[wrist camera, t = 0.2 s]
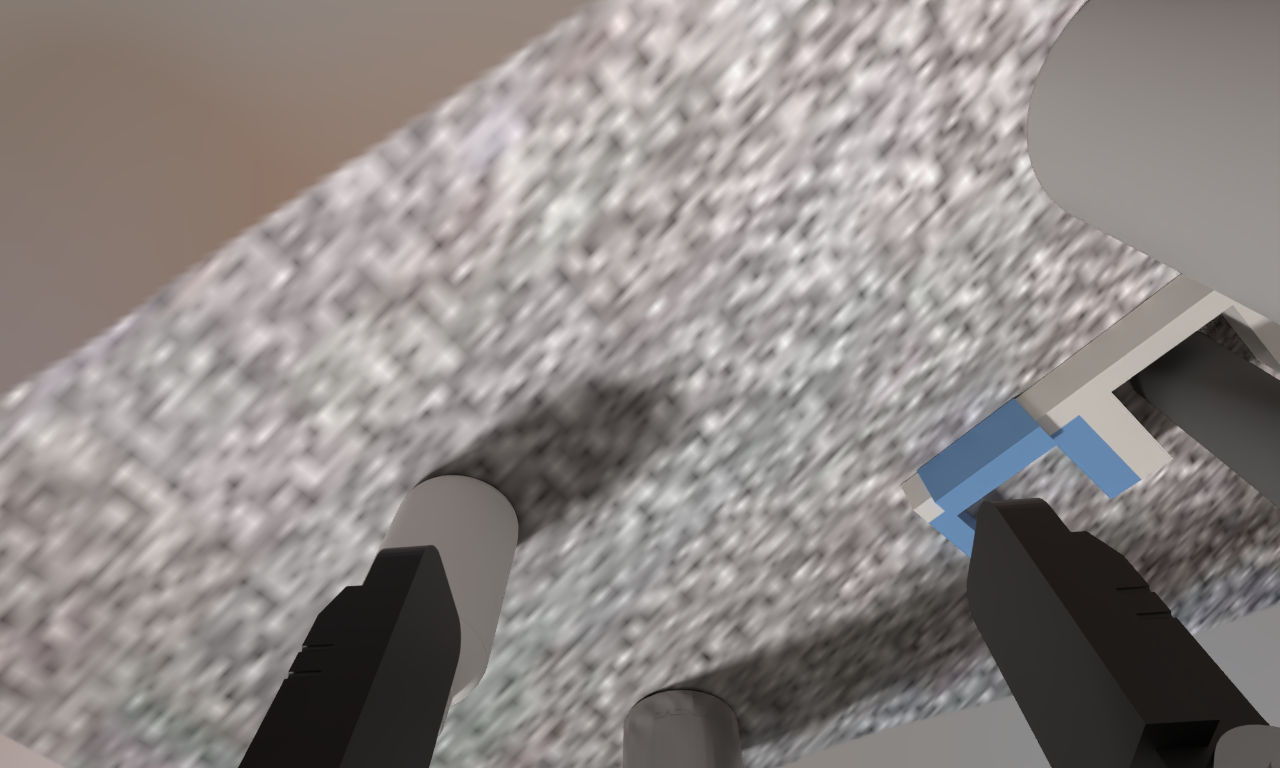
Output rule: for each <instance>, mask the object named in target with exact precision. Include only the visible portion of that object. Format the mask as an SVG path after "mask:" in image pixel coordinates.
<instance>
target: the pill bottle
mask: <svg viewBox="0 0 1280 768" xmlns="http://www.w3.org/2000/svg"><path fill="white" fill-rule="evenodd" d="M517 541H518V520H517V516H516V513H515V511H514V509H513V507H512V505H511V504H510V502H509V501H508V500H507V498H506V497H505V496H504V495H503V494H502V493H501V492H499V491H498V490H497V489H495V488H494V487H492V486H491V485H489V484H487V483H485V482H483V481H480V480H478V479H475V478H471V477H467V476H460V475H446V476H439V477H435V478H432V479H429V480H426V481H424V482H422V483H421V484H419V485H417V486H416V487H415V488H414V489H412V490H411V491H410V492H409V494H408V495H407V496H406V497H405V499H404V500H403V502H402V503H401V505H400V507H399V509H398V511H397V513H396V515H395V517H394V519H393V521H392V523H391V525H390V527H389V529H388V532H387V534H386V536H385V538H384V540H383V542H382V544H381V546H380V548H379V550H378V552H377V554H378V553H379V552H380V551H381V550H382V549H385V548H396V547H410V546H423V545H434V546H435V547H436V548H437V549H438V551H439V554H440V556H441V560H442V563H443V566H444V569H445V573H446V576H447V579H448V583H449V586H450V589H451V592H452V596H453V599H454V602H455V606H456V609H457V612H458V615H459V620H460V626H461V649H460V656H459V661H458V665H457V668H456V672H455V676H454V679H453V683H452V686H451V690H450V694H449V697H448V701H447V704H446V708H445V712H444V715H443V719H442V722H441V726H440V730H439V733H438V736H440V734H441V732H442V730H443V727H444V724H445V720H446V717H447V714H448V710H449V707H450V706H452V705H454V704H456V703H458V702H459V701H461V700H463V699H464V698H465V697H467V696H468V695H469V694H470V693H471V692H472V691H473V690H474V689H475V687H476V686H477V685H478V683H479V682H480V680H481V679H482V677H483V675H484V673H485V671H486V668H487V665H488V661H489V657H490V653H491V649H492V644H493V640H494V636H495V632H496V628H497V624H498V620H499V616H500V611H501V607H502V603H503V599H504V595H505V591H506V587H507V582H508V578H509V574H510V570H511V566H512V562H513V558H514V554H515V549H516V545H517ZM377 554H376V556H377ZM376 556H375V558H376ZM375 558H374V560H375ZM374 560H373V562H374ZM372 564H373V563H372ZM371 566H372V565H371ZM370 568H371V567H370ZM369 570H370V569H369ZM368 572H369V571H368ZM367 574H368V573H367ZM366 577H367V575H366ZM366 577H365V579H366ZM365 579H364V581H365ZM364 581H363V583H364ZM363 583H362V585H363ZM437 738H438V737H437Z"/></svg>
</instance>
